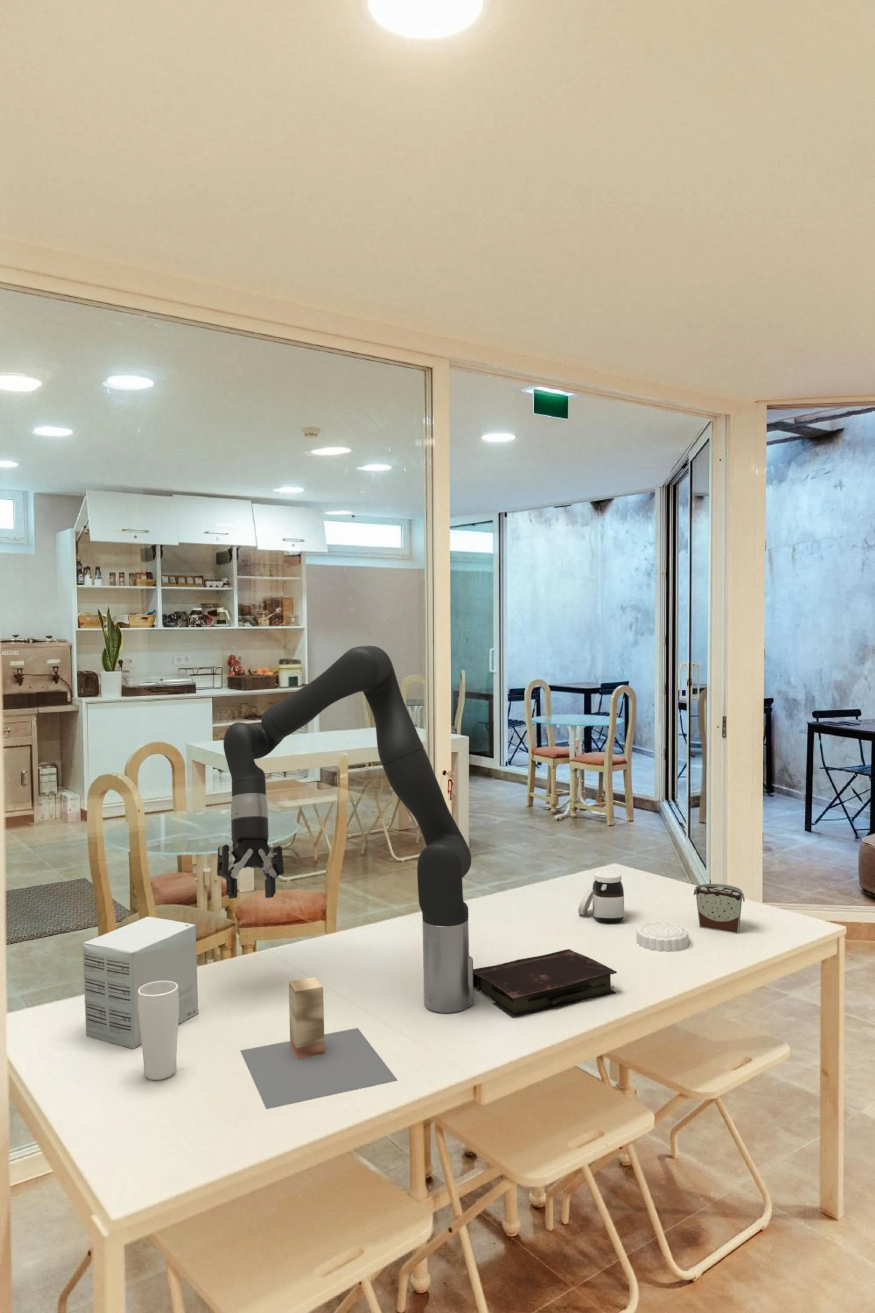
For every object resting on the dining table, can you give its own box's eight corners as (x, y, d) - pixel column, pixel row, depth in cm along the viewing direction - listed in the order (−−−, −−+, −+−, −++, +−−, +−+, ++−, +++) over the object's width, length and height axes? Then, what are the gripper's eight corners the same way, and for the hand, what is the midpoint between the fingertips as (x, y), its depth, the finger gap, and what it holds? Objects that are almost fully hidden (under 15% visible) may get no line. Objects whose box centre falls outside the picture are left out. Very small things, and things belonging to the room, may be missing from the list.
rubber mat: (357, 1030, 175) (357, 1028, 175) (397, 1083, 154) (397, 1080, 154) (240, 1053, 166) (240, 1050, 166) (266, 1112, 146) (266, 1109, 146)
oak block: (317, 1042, 169) (315, 977, 169) (324, 1053, 164) (323, 986, 164) (290, 1047, 167) (288, 981, 167) (296, 1059, 162) (295, 991, 162)
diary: (468, 990, 195) (468, 967, 194) (567, 968, 206) (567, 946, 206) (515, 1022, 178) (514, 996, 178) (620, 997, 189) (619, 972, 189)
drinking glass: (158, 1087, 154) (156, 998, 154) (131, 1077, 158) (128, 991, 157) (189, 1070, 160) (187, 985, 160) (162, 1061, 164) (159, 977, 163)
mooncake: (699, 945, 217) (699, 930, 217) (664, 956, 211) (664, 941, 211) (660, 932, 227) (660, 917, 227) (625, 942, 220) (625, 927, 220)
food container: (750, 927, 229) (750, 887, 228) (744, 934, 223) (744, 893, 223) (700, 919, 235) (700, 880, 235) (693, 926, 230) (693, 886, 230)
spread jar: (627, 925, 232) (626, 879, 232) (581, 926, 232) (581, 880, 232) (618, 910, 244) (617, 866, 244) (575, 911, 244) (574, 867, 244)
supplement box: (150, 1002, 190) (147, 915, 189) (200, 1014, 183) (197, 924, 183) (82, 1036, 174) (79, 941, 174) (134, 1050, 168) (131, 952, 168)
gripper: (228, 813, 185) (230, 896, 180) (288, 816, 195) (291, 895, 190) (209, 820, 191) (210, 901, 185) (269, 822, 200) (271, 899, 195)
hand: (251, 898), depth 188 cm, fingers open, 8 cm apart
